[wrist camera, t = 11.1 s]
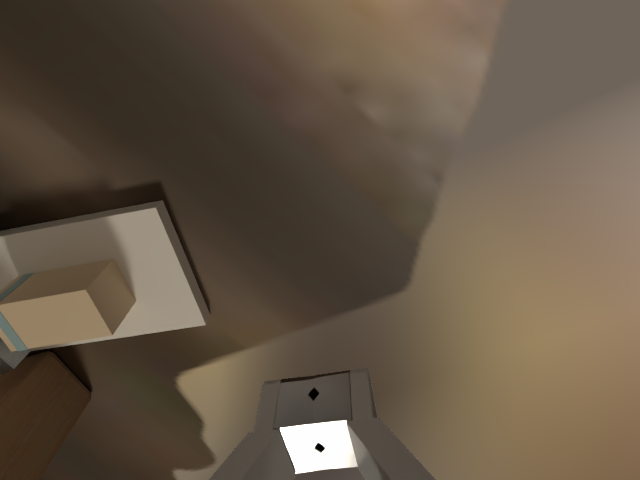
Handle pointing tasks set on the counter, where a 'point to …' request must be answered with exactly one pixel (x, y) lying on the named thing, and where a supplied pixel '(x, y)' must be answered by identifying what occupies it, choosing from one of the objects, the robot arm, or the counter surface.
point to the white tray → (130, 255)
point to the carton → (64, 305)
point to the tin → (10, 357)
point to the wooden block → (37, 414)
